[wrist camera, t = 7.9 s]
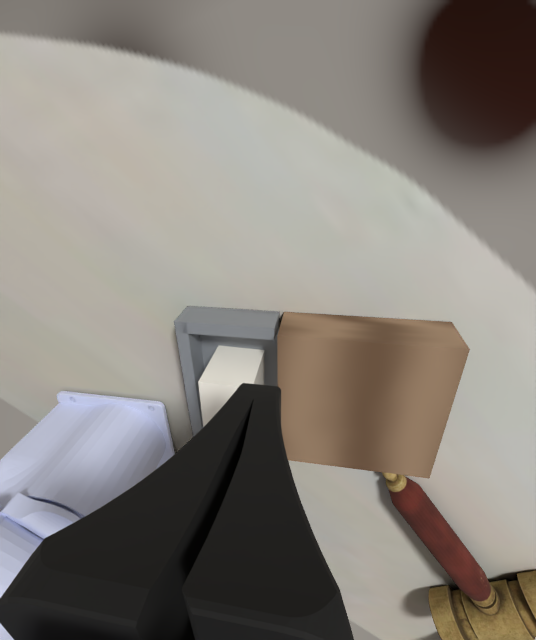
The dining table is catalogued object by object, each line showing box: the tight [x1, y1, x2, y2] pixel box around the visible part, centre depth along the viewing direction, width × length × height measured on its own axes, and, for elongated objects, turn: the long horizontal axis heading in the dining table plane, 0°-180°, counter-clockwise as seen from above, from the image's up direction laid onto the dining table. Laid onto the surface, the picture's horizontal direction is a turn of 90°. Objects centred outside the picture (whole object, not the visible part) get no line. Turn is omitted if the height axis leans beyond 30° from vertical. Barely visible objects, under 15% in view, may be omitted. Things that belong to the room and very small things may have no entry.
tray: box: [174, 306, 279, 437], centre depth 23 cm, size 6×10×2 cm, turn 0°
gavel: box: [382, 472, 536, 640], centre depth 28 cm, size 21×5×10 cm
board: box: [277, 312, 470, 478], centre depth 22 cm, size 10×10×3 cm
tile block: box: [198, 345, 264, 427], centre depth 22 cm, size 4×4×3 cm
